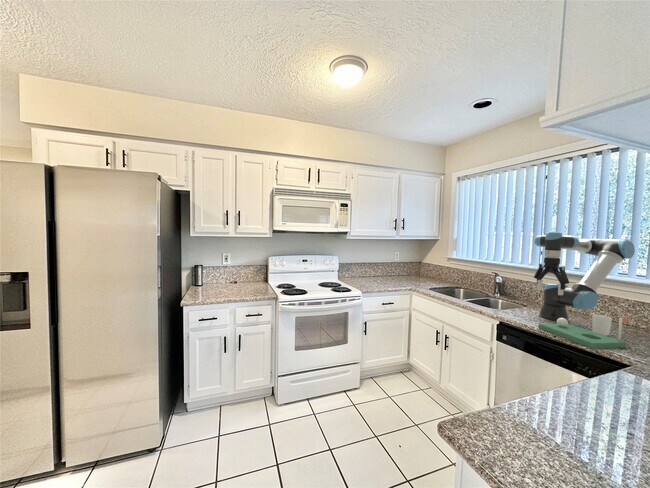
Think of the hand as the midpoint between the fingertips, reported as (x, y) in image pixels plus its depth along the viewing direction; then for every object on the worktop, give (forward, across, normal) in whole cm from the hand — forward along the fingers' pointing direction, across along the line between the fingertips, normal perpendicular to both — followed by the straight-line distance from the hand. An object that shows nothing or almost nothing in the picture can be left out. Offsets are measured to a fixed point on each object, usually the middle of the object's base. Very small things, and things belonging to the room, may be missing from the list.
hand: (549, 292), depth 163 cm
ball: (+15, +9, 0) cm, 18 cm away
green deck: (+20, +18, +1) cm, 27 cm away
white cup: (+21, +14, +20) cm, 32 cm away
